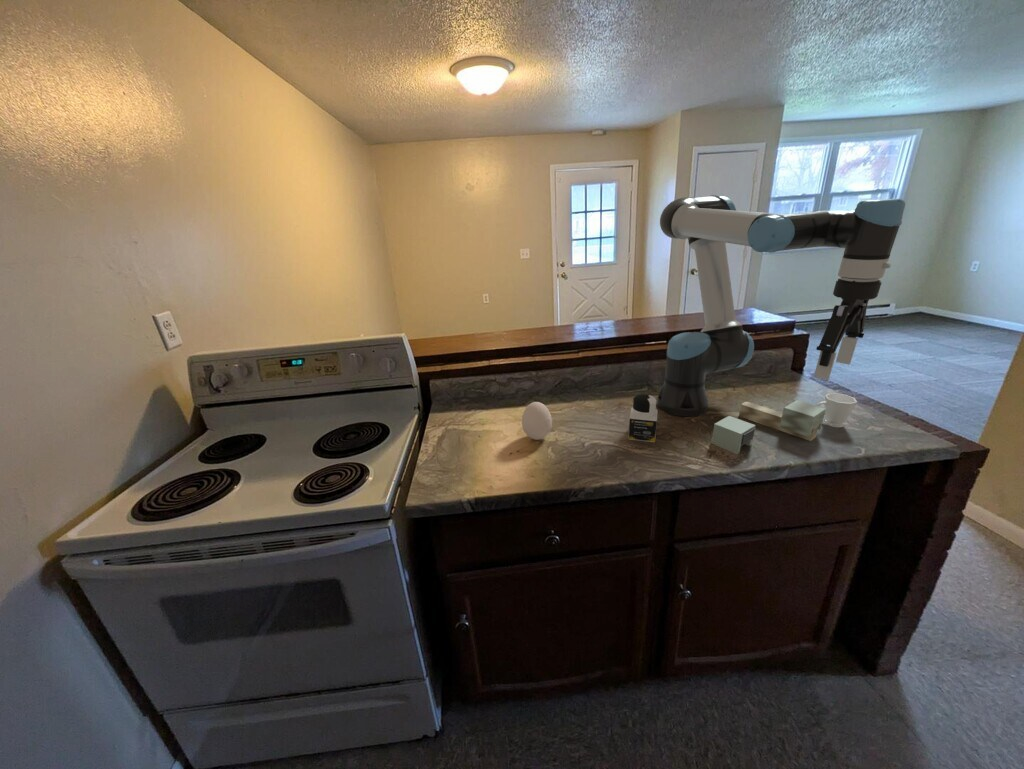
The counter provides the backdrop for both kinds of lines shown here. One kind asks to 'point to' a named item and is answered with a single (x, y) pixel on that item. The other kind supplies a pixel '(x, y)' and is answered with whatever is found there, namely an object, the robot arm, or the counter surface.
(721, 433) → the block
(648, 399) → the medicine bottle
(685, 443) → the counter surface
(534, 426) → the egg
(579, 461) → the counter surface
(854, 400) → the cup
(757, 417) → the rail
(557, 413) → the counter surface
